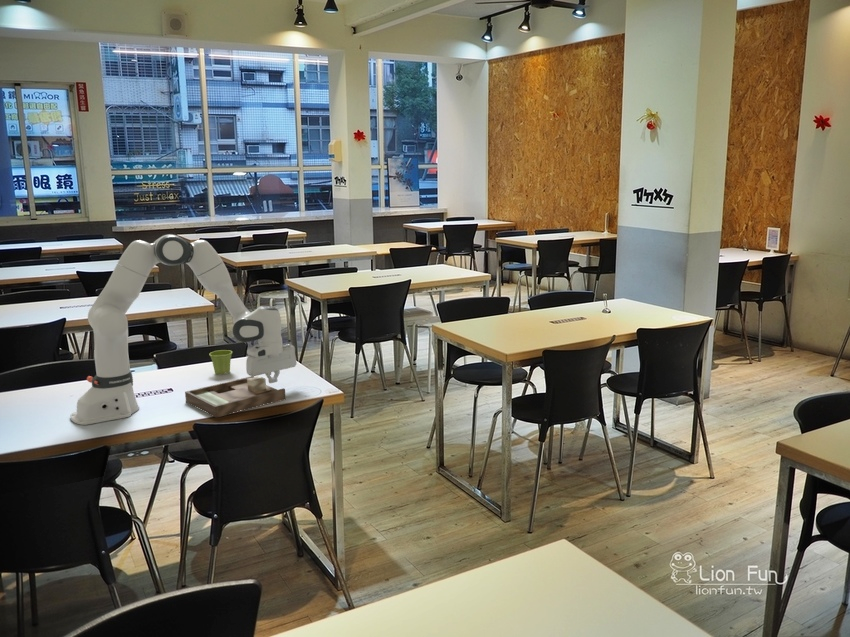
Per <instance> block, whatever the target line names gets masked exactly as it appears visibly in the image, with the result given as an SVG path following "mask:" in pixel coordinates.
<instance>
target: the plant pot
mask: <svg viewBox="0 0 850 637" xmlns="http://www.w3.org/2000/svg"><path fill="white" fill-rule="evenodd" d="M232 355H233V351H232V350H229V349H228V350H227V349H220V350H214V351H212V352H210V353H209V357H210V359H211V361H212V366H213V371H214V374H216V375H225V374H229V373H230V372H231V360H232Z"/></svg>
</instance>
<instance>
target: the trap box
mask: <svg viewBox="0 0 850 637" xmlns="http://www.w3.org/2000/svg"><path fill="white" fill-rule="evenodd" d="M253 377H255V376H250V375H249V376H245V377H242V378H237V379H234V380H229V381H226V382H225V381H224V382H221V383H216V384H212V385H209V386H204V387H198V388H195V389H191V390H187V391H184V394H185V402H186V403H187V404H189V405H191V404H192V405H191V406H193V405H194V406H193V407H195V406H196V407H198V408H200V409H202V410H204V411H206V412H208V413H209V414H208V413H207V414H208V415H210V414H211V415H210V416H212V415H213V416H212V417H213V418H220V417H223V416H228V415H231V414H230V413H232V414H234V413H233V412H236V413H238V412H237V411H240V410H243V411H245V410H244V409H247V410H249V409H248V408H251V409H253V408H252V407H255V408H257V407H256V406H258V407H261V406H260V405H262V406H264V405H263V404H266V405H268V404H267V403H270V404H272V403H271V402H273V403H276V401H277V402H280V400H281V401H283V400H284V399H285V400H286V388H280V389H277V388H274V387H271V386H269V385H267V384H266V389H263V390H259V391H255V392H254V391H251V390H249V389H248V385H247V379H248V378H253ZM196 407H195V408H196ZM198 408H197V409H198ZM200 409H199V410H200ZM202 410H201V411H202ZM204 411H203V412H204ZM206 412H205V413H206ZM240 412H241V411H240ZM227 414H228V415H227Z"/></svg>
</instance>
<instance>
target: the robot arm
mask: <svg viewBox="0 0 850 637" xmlns="http://www.w3.org/2000/svg"><path fill="white" fill-rule="evenodd" d="M159 263H161V264H163V265H167V266H170V267H171V266H179V265H184V264H186V265H188V266H189V268H190V269H191V270H192V272H193V274H194V276H195V277H196V279H197V280H198V282H199V284H201V286H203V288H204V289H205V290H206V291H207V292H209V293H211V294H215V296H217V297H218V298H219V299H220V300H221V302H222V303H223V305H224V306H225V308H226V309H227V311H228V313H229V314H230V315H231V320H232V335H233V336H234V338H235V339H236V340H237V341H239V342H242V343H250V342H253V341H257V340H258V343H256V344H255V345H254V346H251V347H250V348H248V349H247V350H246V353H247V355H248V356H247V357H246V363H245V364H246V365H245V366H246V367H245V368H246V374H247V375H248V376H249V377H250V376H254V377H257V376H261V375H265V376H266V378H267V379H268V383H269V384H274V383H277V382H278V378H279V375H280V371H282V370H286V369H291V368H295V367H296V366H297V362H298V361H297V356H296V348H295V345H294V344H292V343H287V344H283V337H282V330H283V329H282V319H281V314H280V313H281V312H280V311H279V309H278V308H276V307H275V306H271V305H260V306H258V307H257V308H256V309H254V310H253V311H252V310H251V309H249V308H248V307H246V305H245V304H244V302H243V301H242V299H241V298H240V296H239V294H238V292H237V291H236V289H235V287H234V285H233V282H232V278H231V275H230V272H229V270H228V268H227V266H226V264H225V263H224V261H223V259H222V258H221V256H220V255H219V253H218V252H217V251H216V249H215V248H214V247H213V246H212V244H210V243H209V242H208V241H207V240H205V239H197V240H195V241H192V242H189V241H187V240H185V239H184V238H182V237H181V236H179V235H177V234H172V233H169V234H168V233H167V234H163V235H162V236H160V237H158V238H157V239H155V240H153V241H152V242H147V241H145V240H141V239H139V240H138V239H137V240H133V241H132V242H130V244H129V245H128V246H127V247H126V249H125V250H124V251H123V253H122V254H121V256H120V257H119V259H118V261H117V264H116V266H115V267H114V269H113V271H112V273H111V275H110V276H109V278H108V281H107V282H106V284H105V286H104V288H103V289H102V291H101V292H100V294H99V295H98V296H97V298H96V299H95V301H94V303H93V305H91V307H90V309H89V310H88V313H87V322H88V324H89V326H90V327H91V328H92V331H93V342H94V345H93V346H94V349H93V350H94V352H93V355H94V356H93V357H94V364H95V365H94V366H95V372H96V374H95V375H94V377H93V376H92V375H91V376H90V375H88V376H87V377H86V381H87V382H88V383H90V384H91V387H90V388H89V389H88V390H87V391H86V392H84V393H83V394H82V395H80V397H79V398H78V400H77V402H76V411H74V412H72V413H71V414H70V418H69V419H70V420H71V422H73V423H75V424H78V425H81V426H84V425H85V426H86V425H87V426H88V425H92V424H98V423H103V422H109V421H113V420H119V419H125V418H129V417H131V416H132V415H131V414H134V413H136V412H137V411H139V410H140V406H139V404H138V401H137V398H136V396H135V392H134V387H133V386H134V383H133V382H134V378H133V373H132V370H131V368H130V367H131V366H130V358H129V325H128V323H129V322H128V318H127V315H126V313H127V311H128V310H129V309H130V308H131V306H132V305H133V303H134V302H135V301H136V300H137V298H139V296H140V294H141V292H142V290H143V287H144V286H145V284H146V282H147V279H148V278H149V276H150V274H151V271H152V270H153V269H154V267H155V266H156V265H157V264H159ZM272 373H274V374H273V377H272Z"/></svg>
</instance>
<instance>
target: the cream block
mask: <svg viewBox="0 0 850 637" xmlns="http://www.w3.org/2000/svg"><path fill="white" fill-rule="evenodd" d="M266 383H267V382H266V378H264V377H262V376H261V375H257V376H254V377H253V378H248V379H247V385H248V389H249V390H251V391H254V392H255V391H259V390H263V389H266V385H267V384H266Z"/></svg>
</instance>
